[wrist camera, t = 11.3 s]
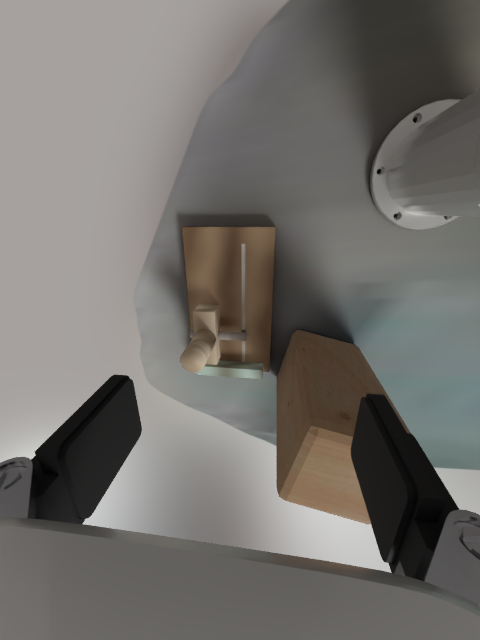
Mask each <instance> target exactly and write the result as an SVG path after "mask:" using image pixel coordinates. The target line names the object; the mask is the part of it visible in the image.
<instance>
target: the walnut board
mask: <svg viewBox="0 0 480 640" xmlns="http://www.w3.org/2000/svg"><path fill="white" fill-rule="evenodd" d="M275 231H276V227H182V232H183V244H184V256H185V268H186V280H187V292H188V305H189V317H190V329H191V330H194V320H193V311H194V309H195V308H196V307H197V306H198V305H199V304H206V305H220V331H226V332H242V330H246V333H247V338H246V341H235V340H221V357H220V359H219V361H218V364H217V365H213V364H205V366H204V368H203V369H202V370H201V371H199V372H196V374H198V375H212V376H226V377H240V378H254V379H262V375H263V372H269V369H270V347H271V323H272V300H273V277H274V254H275ZM192 339H193V338H191V340H192Z"/></svg>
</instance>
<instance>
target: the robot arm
mask: <svg viewBox="0 0 480 640" xmlns="http://www.w3.org/2000/svg"><path fill="white" fill-rule="evenodd" d="M413 118H414V119H415V120H416V121H415V123H414V122H413ZM378 169H379V170H380V173H379V174H377V170H378ZM370 189H371V195H372V199H373V201H374V204H375V206H376V208H377V209H378V211H379V212H380V214H381V215H382V216H383V217H384V218H385V219H387V220H388V221H389V222H391V223H393V224H394V225H396V226H399V227H403V228H407V229H430V228H435V227H438V226H441V225H444V224H447V223H449V222H450V221H452V220H454V219H456V218H458V217H459V216H475V217H480V89H478V90H477V91H475V92H473V93H472V94H470V95H469V96H467V97H465V98H464V99H462V100H461V99H446V100H440V101H435V102H432V103H430V104H427V105H424V106H422V107H421V108H419V109H417V110H415V111H414V112H412V113H410V114H409V115H408V116H406V117H405V118H404V119H402V120H401V121H400V122H399V123H398V124H397V125H396V126H395V127H394V128H393V129H392V130H391V131H390V132H389V134H388V135H387V136H386V138H385V139H384V140H383V142H382V144H381V146H380V147H379V149H378V151H377V153H376V156H375V159H374V161H373V164H372V169H371V174H370ZM394 214H396V217H395V218H394ZM444 216H445V217H444ZM141 431H142V428H141V421H140V416H139V411H138V406H137V400H136V396H135V390H134V384H133V381H132V380H131V379H130V378H129V377H128V376H126V375H113V376H111V377H110V378H109V379H108V380H107V381H106V382H105V383H104V384H103V385H102V386H101V387H100V388H99V389H98V390H97V391H96V392H95V393H94V394H93V395H92V396H91V397H90V398H89V399H88V400H87V401H86V402H85V403H84V404H83V405H82V406H81V407H80V408H79V409H78V410H77V411H76V412H75V413H74V414H73V415H72V416H71V417H70V418H69V419H68V420H67V421H66V422H65V423H64V424H63V425H62V426H60V427H59V428H58V429H57V431H55V432H54V433H53V434H52V435H51V436H50V437H49V438H48V439H47V440H46V441H45V442H44V443H43V444H42V445H41V446H40V447H39V448H38V449H37V450H36V451H35V454H36V456H35V457H34V458H33V459H32V460H30V459H29V458H26V457H16V458H12V459H9V460H6V461H4V462H1V463H0V640H480V515H478V514H476V513H473V512H470V511H467V510H459V508H458V507H457V505H456V503H455V502H454V500H453V499H452V497H451V495H450V494H449V492H448V490H447V489H446V487H445V486H444V484H443V482H442V481H441V479H440V478H439V476H438V474H437V473H436V471H435V469H434V468H433V466H432V464H431V463H430V461H429V460H428V458H427V456H426V455H425V453H424V452H423V450H422V448H421V447H420V445H419V443H418V442H417V440H416V439H415V437H414V436H413V435H412V434H410V433H407V432H406V430H405V428H404V427H403V425H402V423H401V421H400V420H399V418H398V416H397V415H396V413H395V411H394V410H393V408H392V406H391V405H390V403H389V401H388V400H387V398H386V396H385V395H383V394H370V393H368V394H367V395H366V397H362V398H361V401H360V406H359V410H358V415H357V420H356V425H355V430H354V435H353V440H352V445H351V459H352V462H353V465H354V469H355V472H356V475H357V479H358V482H359V485H360V489H361V492H362V495H363V498H364V502H365V505H366V508H367V512H368V515H369V518H370V521H371V525H372V528H373V531H374V535H375V538H376V541H377V544H378V548H379V551H380V554H381V557H382V559H383V561H384V562H387V563H389V566H390V569H391V572H392V573H389V572H384V571H380V570H374V569H368V568H363V567H357V566H351V565H345V564H340V563H334V562H329V561H322V560H316V559H309V558H303V557H297V556H290V555H283V554H278V553H271V552H265V551H258V550H252V549H246V548H239V547H232V546H226V545H219V544H213V543H206V542H199V541H193V540H186V539H179V538H172V537H166V536H159V535H153V534H146V533H139V532H131V531H125V530H118V529H110V528H104V527H97V526H90V525H83V524H82V523H83V522H84V520H85V519H86V518H89V517H90V516H91V515H92V513H93V512H94V510H95V509H96V507H97V505H98V503H99V502H100V501H101V499H102V497H103V496H104V494H105V492H106V491H107V489H108V488H109V486H110V484H111V482H112V481H113V479H114V478H115V476H116V475H117V473H118V471H119V470H120V468H121V466H122V465H123V463H124V461H125V460H126V458H127V457H128V455H129V453H130V452H131V450H132V448H133V447H134V445H135V444H136V442H137V440H138V439H139V437H140V435H141Z"/></svg>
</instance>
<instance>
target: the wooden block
mask: <svg viewBox="0 0 480 640" xmlns="http://www.w3.org/2000/svg"><path fill="white" fill-rule="evenodd" d="M368 393H370V394H383V395H385V396H386V398H387V400H388V401H389V403H390V405H391V406H392V408H393V410H394V411H395V413H396V415H397V416H398V418H399V420H400V421H401V423H402V425H403V427H404V428H405V430H406V432H407V433H410V431H409V430H408V428H407V426H406V425H405V423H404V421H403V420H402V418H401V416H400V415H399V413H398V412H397V410H396V408H395V407H394V405H393V403H392V402H391V400H390V398H389V397H388V395H387V394H386V392H385V390H384V389H383V387H382V385H381V384H380V382H379V380H378V379H377V377H376V375H375V374H374V372H373V371H372V369H371V367H370V366H369V364H368V362H367V361H366V359H365V357H364V356H363V354H362V353H361V351H360V349H359V348H358V347H357V346H356V345H354V344H350V343H347V342H343V341H339V340H335V339H332V338H328V337H324V336H321V335H317V334H313V333H309V332H306V331H302V330H296V331H295V332H294V333H293V334H292V336H291V339H290V342H289V345H288V347H287V350H286V353H285V356H284V359H283V362H282V365H281V367H280V370H279V373H278V376H277V490H278V494H279V497H281V498H282V499H284V500H286V501H289V502H292V503H296V504H299V505H303V506H306V507H310V508H313V509H317V510H320V511H324V512H327V513H330V514H334V515H338V516H341V517H344V518H348V519H351V520H355V521H358V522H362V523H365V524H371V521H370V518H369V515H368V512H367V508H366V505H365V502H364V498H363V495H362V492H361V489H360V485H359V482H358V479H357V475H356V472H355V469H354V465H353V462H352V459H351V445H352V440H353V435H354V430H355V425H356V420H357V415H358V410H359V406H360V401H361V398H362V397H366V395H367V394H368ZM410 434H411V433H410Z"/></svg>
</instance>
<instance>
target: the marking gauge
mask: <svg viewBox="0 0 480 640" xmlns="http://www.w3.org/2000/svg"><path fill="white" fill-rule="evenodd" d="M193 320H194V330H190V338H193V339H192V340H191V341H190V343H189V344H188V346H187V347H186V349H185V350H184V352H183V353H182V355H181V357H180V363H181V365H182V367H183V368H184V369H185V370H187V371H189V372H199V371H201V370H202V369H203V368H204V366H205V364H213V365H217V364H218V361H219V359H220V357H221V340H235V341H246V338H247V333H246V330H242V332H226V331H220V305H206V304H199V305H198V306H197V307H196V308H195V309H194V311H193Z"/></svg>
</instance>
